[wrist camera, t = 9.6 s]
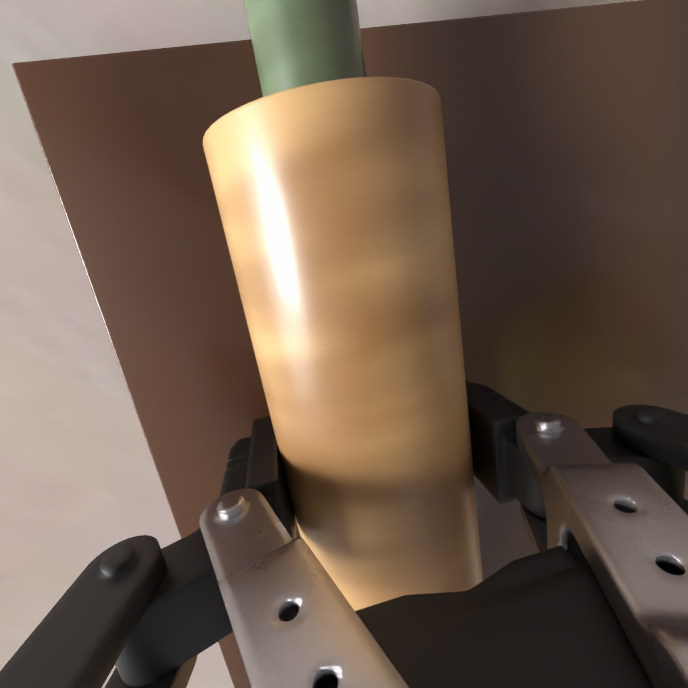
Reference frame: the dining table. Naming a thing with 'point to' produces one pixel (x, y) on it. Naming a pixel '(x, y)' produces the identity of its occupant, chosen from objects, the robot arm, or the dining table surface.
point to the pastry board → (466, 214)
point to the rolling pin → (352, 302)
